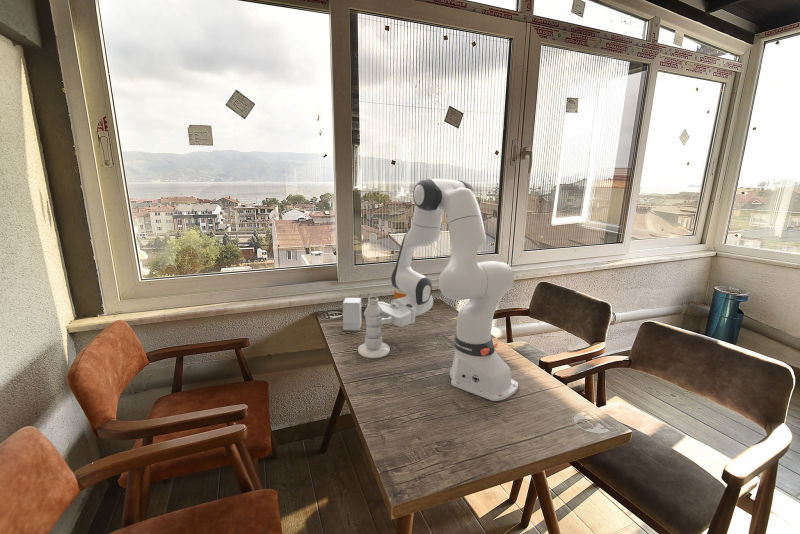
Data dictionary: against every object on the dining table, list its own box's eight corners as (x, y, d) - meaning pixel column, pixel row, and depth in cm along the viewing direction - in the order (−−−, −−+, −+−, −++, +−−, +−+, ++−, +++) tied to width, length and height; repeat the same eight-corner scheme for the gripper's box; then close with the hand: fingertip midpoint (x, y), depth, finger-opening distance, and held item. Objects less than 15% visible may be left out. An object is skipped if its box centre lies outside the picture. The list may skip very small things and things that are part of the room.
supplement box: (359, 330, 161) (359, 303, 158) (342, 330, 161) (342, 302, 158) (362, 324, 168) (361, 297, 165) (345, 323, 168) (344, 297, 165)
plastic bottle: (365, 344, 146) (364, 295, 141) (382, 344, 146) (382, 295, 141) (364, 351, 140) (363, 301, 135) (382, 351, 140) (382, 301, 135)
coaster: (396, 351, 142) (396, 349, 142) (371, 361, 134) (371, 358, 134) (376, 341, 151) (376, 338, 151) (352, 350, 143) (351, 347, 143)
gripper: (383, 295, 155) (355, 303, 146) (418, 308, 140) (390, 317, 131) (383, 310, 156) (356, 318, 147) (417, 324, 142) (390, 334, 133)
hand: (372, 318), depth 139 cm, fingers open, 8 cm apart
